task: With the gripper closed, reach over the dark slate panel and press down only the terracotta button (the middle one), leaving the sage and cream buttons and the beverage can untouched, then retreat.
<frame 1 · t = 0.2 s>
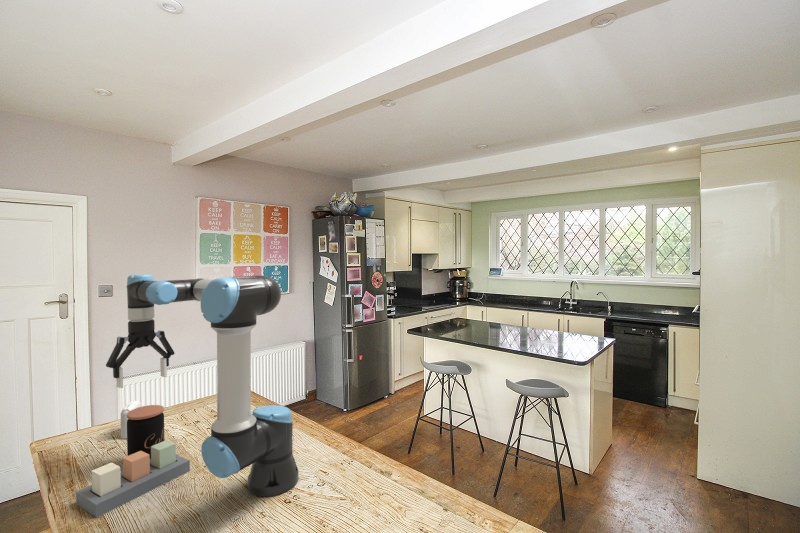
hand: (142, 381, 131), 28 cm above the table, fingers open, 13 cm apart
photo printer: (131, 433, 153), on the table
slate panel: (137, 486, 118), on the table
terracotta button: (136, 465, 118), point 6 cm above the table, slide at 3.0 cm
sage button: (163, 454, 125), point 6 cm above the table, slide at 3.0 cm
cream button: (106, 479, 111), point 6 cm above the table, slide at 3.0 cm
coffee jar: (146, 463, 131), on the table
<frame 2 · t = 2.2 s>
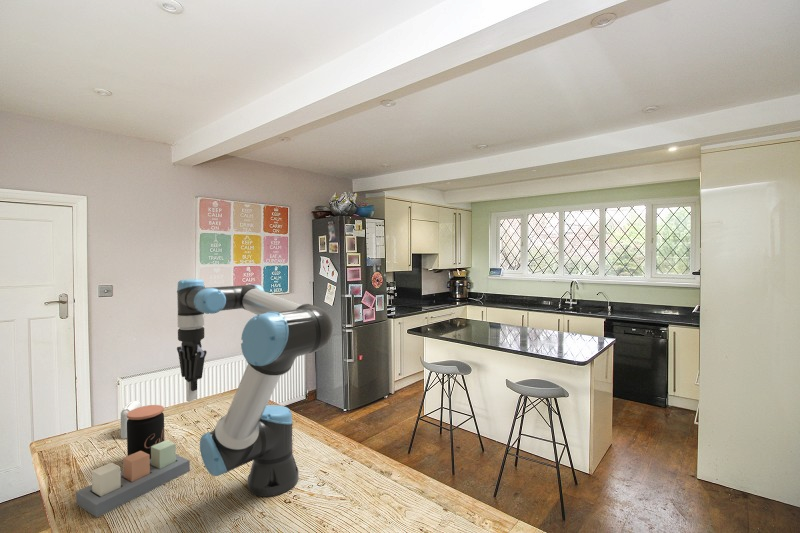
hand: (191, 399, 124), 24 cm above the table, fingers closed
nothing on the table moved.
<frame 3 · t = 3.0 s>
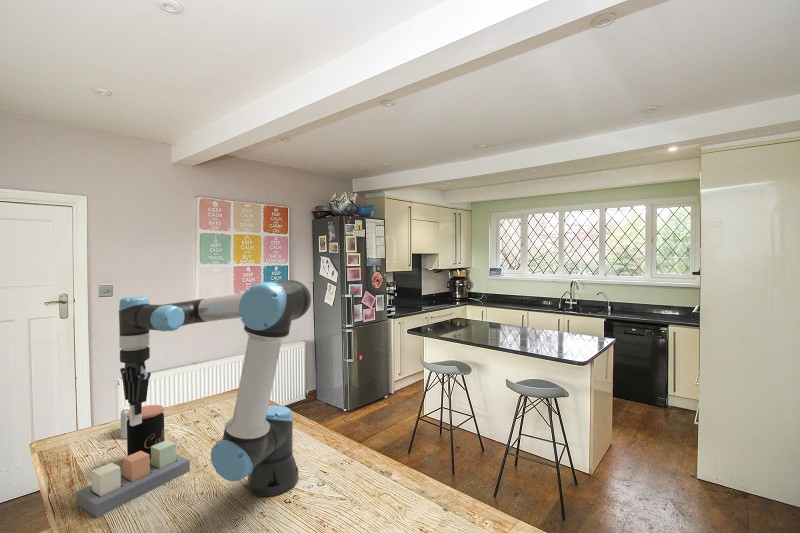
hand: (135, 424, 118), 19 cm above the table, fingers closed
nothing on the table moved.
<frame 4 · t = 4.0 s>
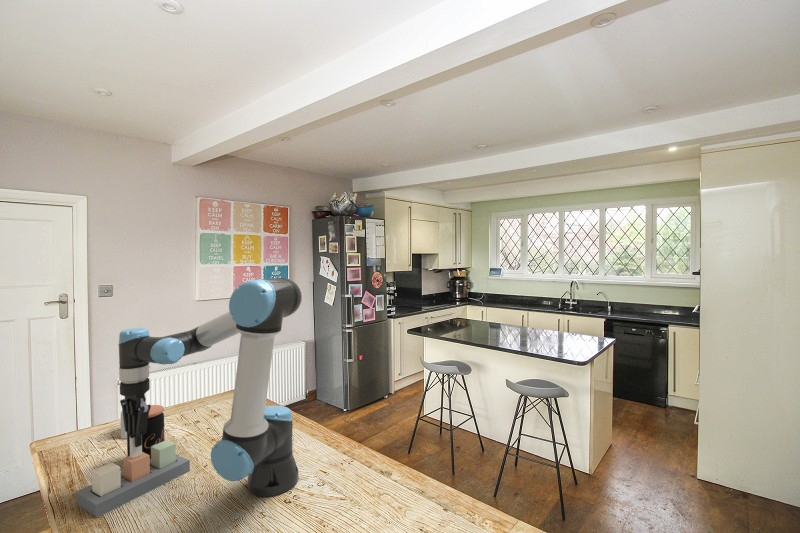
hand: (136, 455, 118), 9 cm above the table, fingers closed
terracotta button: (136, 466, 118), point 6 cm above the table, slide at 2.8 cm, touching gripper
everything else where it was.
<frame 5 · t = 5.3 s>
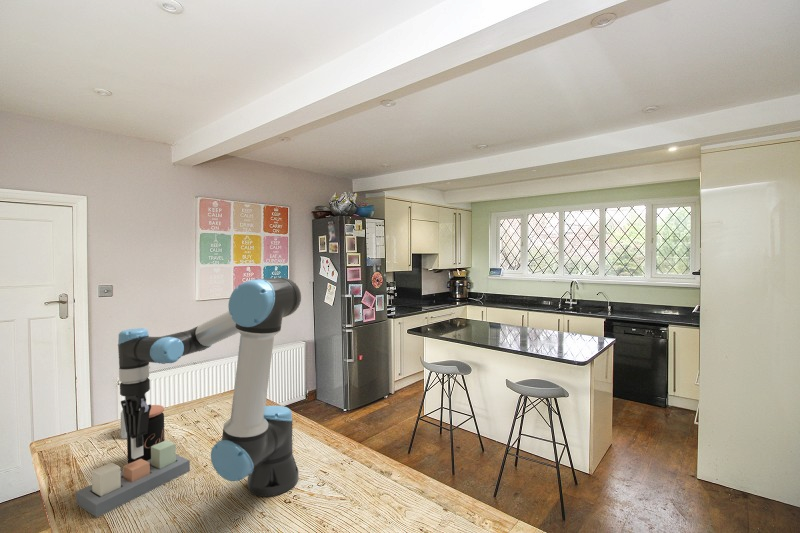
hand: (137, 456, 117), 9 cm above the table, fingers closed
terracotta button: (136, 474, 118), point 4 cm above the table, slide at 0.4 cm
everything else where it was.
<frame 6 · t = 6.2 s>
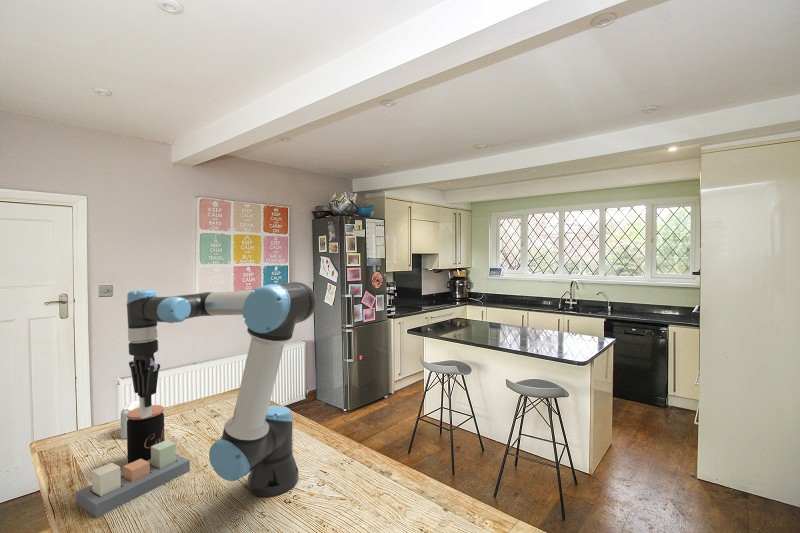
hand: (146, 416, 118), 21 cm above the table, fingers closed
nothing on the table moved.
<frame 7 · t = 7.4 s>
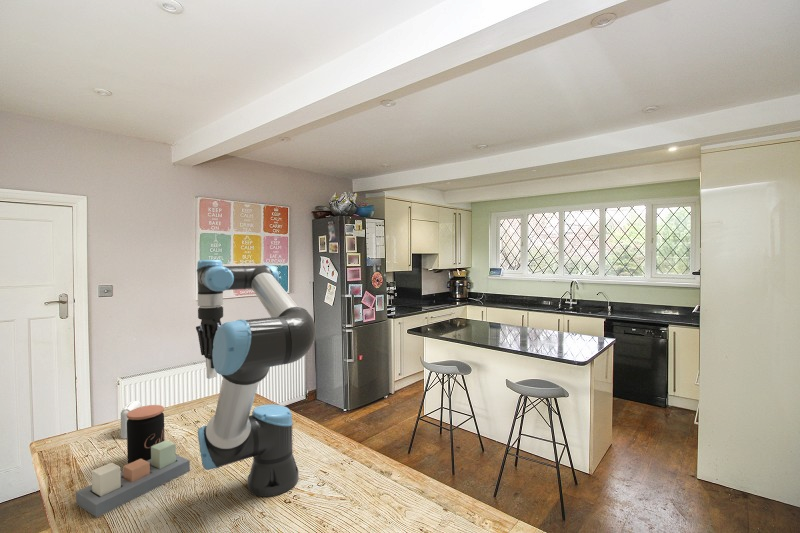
hand: (211, 377, 127), 30 cm above the table, fingers closed
nothing on the table moved.
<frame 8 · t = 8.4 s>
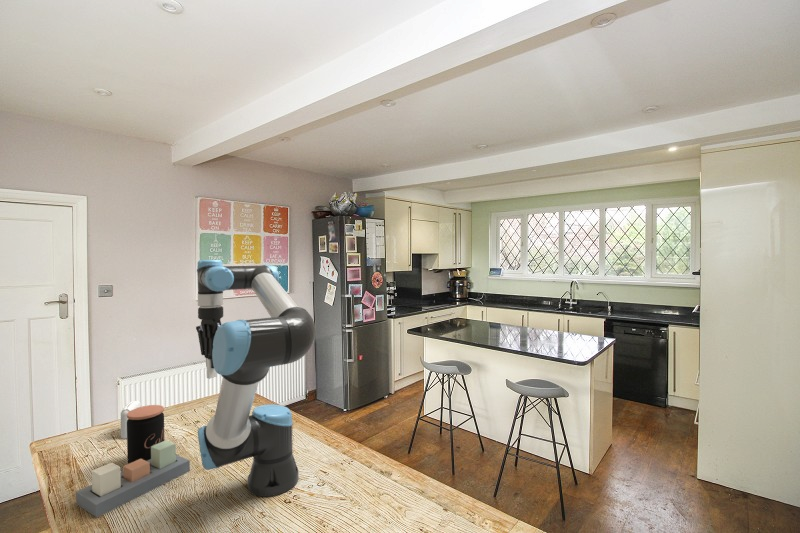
hand: (211, 377, 127), 30 cm above the table, fingers closed
nothing on the table moved.
at the end: terracotta button slide at 0.4 cm; sage button slide at 3.0 cm; cream button slide at 3.0 cm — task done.
